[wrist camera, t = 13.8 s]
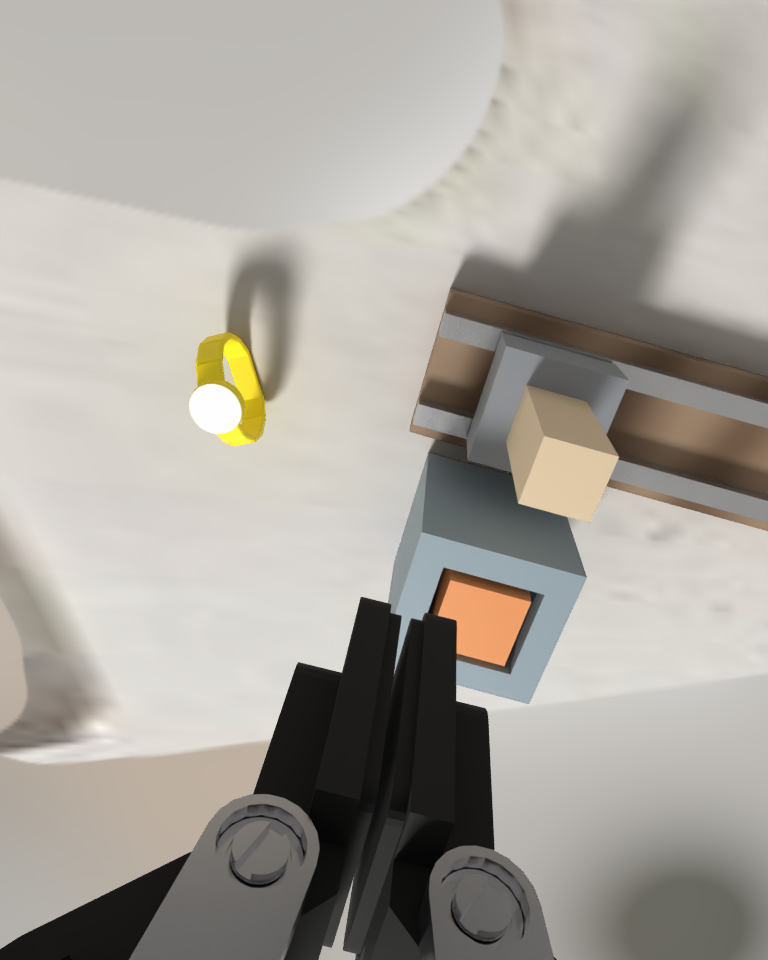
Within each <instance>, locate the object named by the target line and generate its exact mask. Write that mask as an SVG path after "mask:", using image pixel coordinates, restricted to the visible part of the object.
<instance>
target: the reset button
mask: <svg viewBox="0 0 768 960" xmlns="http://www.w3.org/2000/svg"><path fill="white" fill-rule="evenodd" d="M530 604H531V597H530V592H529V590H525V589H521V588H518V587H514V586H510V585H507V584H503V583H499V582H496V581H492V580H488V579H485V578H481V577H477V576H474V575H470V574H466V573H463V572H459V571H455V570H452V569H448V568H444V569H443V572H442V575H441V578H440V581H439V584H438V587H437V590H436V592H435V595H434V598H433V601H432V604H431V607H430V610H429V614H433V615H437V616H441V617H445V618H449V619H453V620H456V621H457V654H461V655H464V656H468V657H472V658H476V659H479V660H483V661H487V662H490V663H494V664H498V665H502V666H505V663H506V661H507V659H508V656H509V654H510V652H511V649H512V647H513V644H514V642H515V640H516V637H517V635H518V633H519V630H520V628H521V626H522V623H523V621H524V618H525V616H526V614H527V611H528V609H529V607H530Z"/></svg>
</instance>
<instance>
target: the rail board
mask: <svg viewBox="0 0 768 960" xmlns="http://www.w3.org/2000/svg"><path fill="white" fill-rule="evenodd" d="M502 333H505V334H509V335H513V336H516V337H520V338H523V339H527V340H530V341H534V342H537V343H541V344H545V345H548V346H552V347H555V348H559V349H562V350H566V351H569V352H573V353H577V354H580V355H584V356H587V357H591V358H594V359H598V360H601V361H605V362H609V363H612V364H616V365H617V367H618V368H619V369H620V370H621V371H622V373H623V374H624V375H625V376H626V377H627V378H628V380H629V383H628V385H627V388H626V390H625V392H624V395H623V397H622V399H621V402H620V404H619V406H618V409H617V411H616V413H615V416H614V418H613V421H612V423H611V425H610V428H609V430H608V432H607V437H608V439H609V440H610V442H611V444H612V445H613V447H614V449H615V451H616V452H617V454H618V456H619V458H618V461H617V463H616V465H615V468H614V470H613V472H612V474H611V477H610V479H609V481H608V483H607V486H608V487H611V488H615V489H618V490H622V491H626V492H629V493H633V494H636V495H640V496H644V497H647V498H651V499H654V500H658V501H662V502H665V503H669V504H672V505H676V506H680V507H683V508H687V509H691V510H694V511H698V512H701V513H705V514H709V515H712V516H716V517H719V518H723V519H727V520H730V521H734V522H737V523H741V524H745V525H748V526H752V527H756V528H759V529H763V530H766V531H768V377H765V376H762V375H758V374H754V373H751V372H747V371H744V370H740V369H737V368H733V367H730V366H726V365H723V364H719V363H715V362H712V361H708V360H705V359H701V358H698V357H694V356H691V355H687V354H684V353H680V352H676V351H673V350H669V349H666V348H662V347H659V346H655V345H652V344H648V343H645V342H641V341H638V340H634V339H630V338H627V337H623V336H620V335H616V334H613V333H609V332H606V331H602V330H599V329H595V328H591V327H588V326H584V325H581V324H577V323H574V322H570V321H567V320H563V319H560V318H556V317H552V316H549V315H545V314H542V313H538V312H535V311H531V310H528V309H524V308H521V307H517V306H513V305H510V304H506V303H503V302H499V301H496V300H492V299H489V298H485V297H482V296H478V295H474V294H471V293H467V292H464V291H460V290H457V289H453V288H450V292H449V295H448V298H447V302H446V305H445V309H444V312H443V315H442V319H441V322H440V326H439V329H438V332H437V336H436V339H435V343H434V346H433V350H432V353H431V356H430V360H429V363H428V367H427V370H426V373H425V377H424V380H423V384H422V387H421V390H420V394H419V397H418V401H417V404H416V408H415V411H414V414H413V418H412V421H411V426H410V432H413V433H416V434H420V435H423V436H427V437H431V438H434V439H438V440H441V441H445V442H449V443H452V444H456V445H460V446H463V447H467V440H466V439H467V436H468V433H469V430H470V427H471V424H472V421H473V418H474V415H475V412H476V409H477V406H478V403H479V400H480V397H481V394H482V391H483V388H484V385H485V382H486V379H487V376H488V373H489V370H490V367H491V364H492V361H493V358H494V355H495V352H496V349H497V346H498V343H499V340H500V337H501V334H502Z"/></svg>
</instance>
